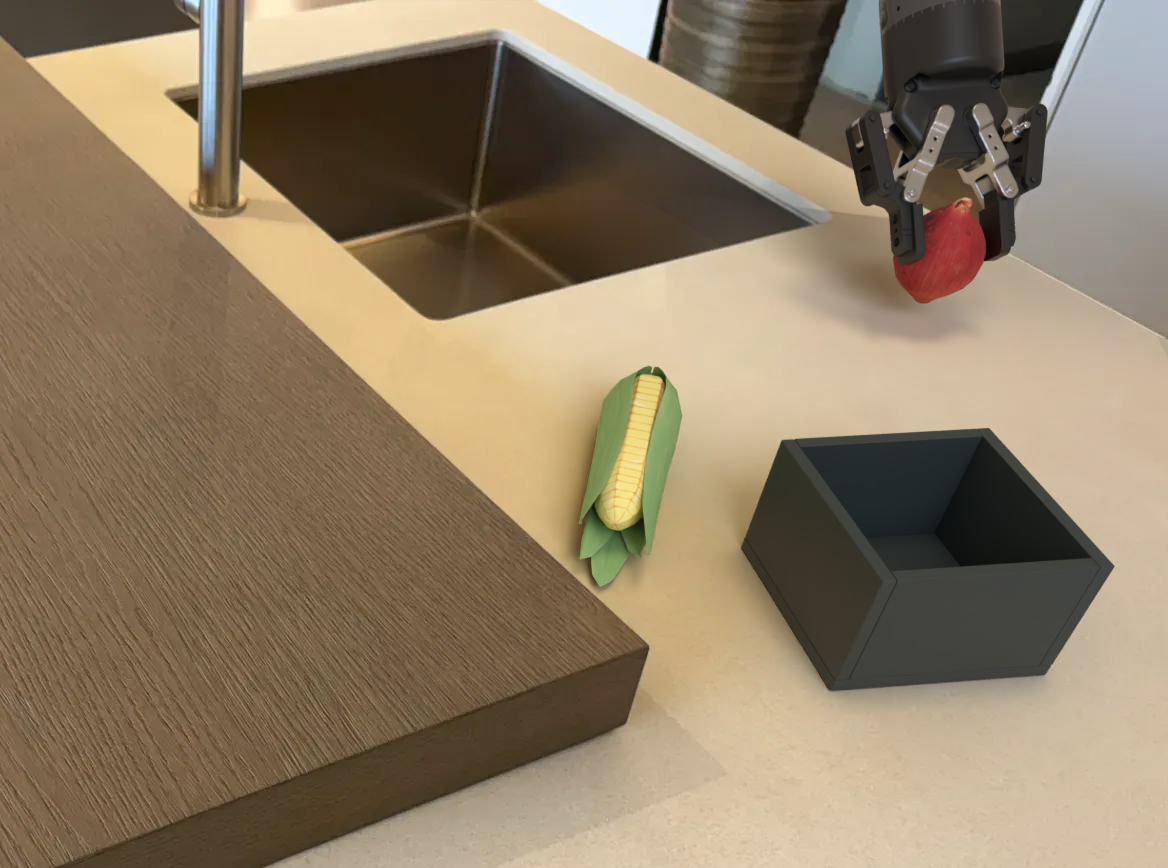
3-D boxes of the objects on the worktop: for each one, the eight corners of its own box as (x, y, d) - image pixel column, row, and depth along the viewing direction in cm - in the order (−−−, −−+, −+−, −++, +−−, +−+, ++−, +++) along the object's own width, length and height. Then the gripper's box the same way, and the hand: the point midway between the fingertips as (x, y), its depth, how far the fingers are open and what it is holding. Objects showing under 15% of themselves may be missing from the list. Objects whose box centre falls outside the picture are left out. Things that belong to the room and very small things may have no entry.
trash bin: (935, 534, 84) (989, 427, 78) (1045, 675, 75) (1115, 566, 70) (740, 547, 83) (781, 439, 77) (829, 691, 74) (883, 581, 69)
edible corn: (678, 421, 92) (697, 362, 89) (643, 603, 79) (663, 541, 76) (602, 406, 93) (617, 347, 90) (554, 583, 80) (570, 521, 77)
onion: (881, 315, 99) (924, 210, 94) (874, 278, 103) (914, 175, 98) (965, 326, 99) (1014, 220, 93) (955, 288, 102) (1001, 184, 97)
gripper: (873, -3, 92) (889, 247, 92) (1072, -10, 93) (1088, 237, 94) (814, 50, 99) (829, 281, 100) (999, 43, 101) (1014, 271, 101)
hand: (954, 258), depth 97 cm, fingers closed on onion, 5 cm apart
